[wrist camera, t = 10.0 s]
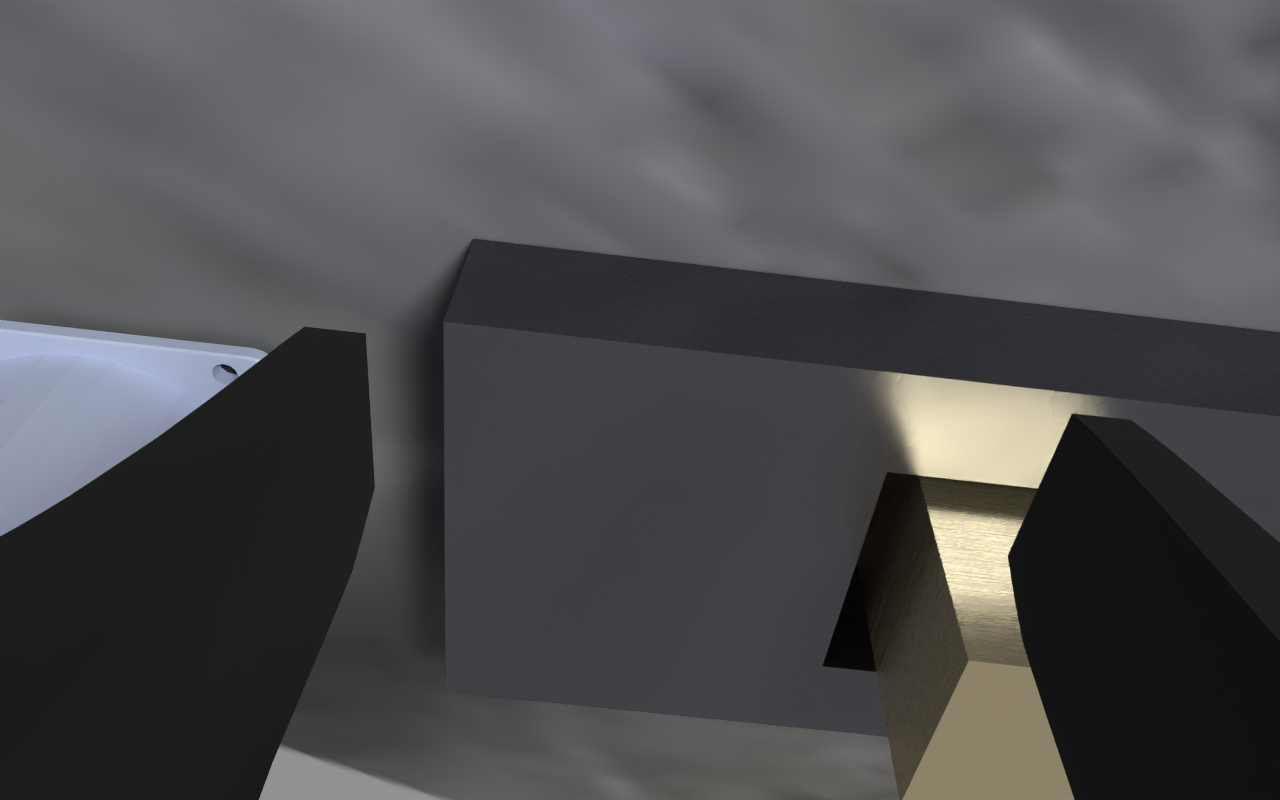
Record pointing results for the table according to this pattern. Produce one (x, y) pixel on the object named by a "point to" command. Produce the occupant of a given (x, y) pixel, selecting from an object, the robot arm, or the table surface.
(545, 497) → the dark grey slotted block
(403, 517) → the table surface
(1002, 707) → the brass peg
